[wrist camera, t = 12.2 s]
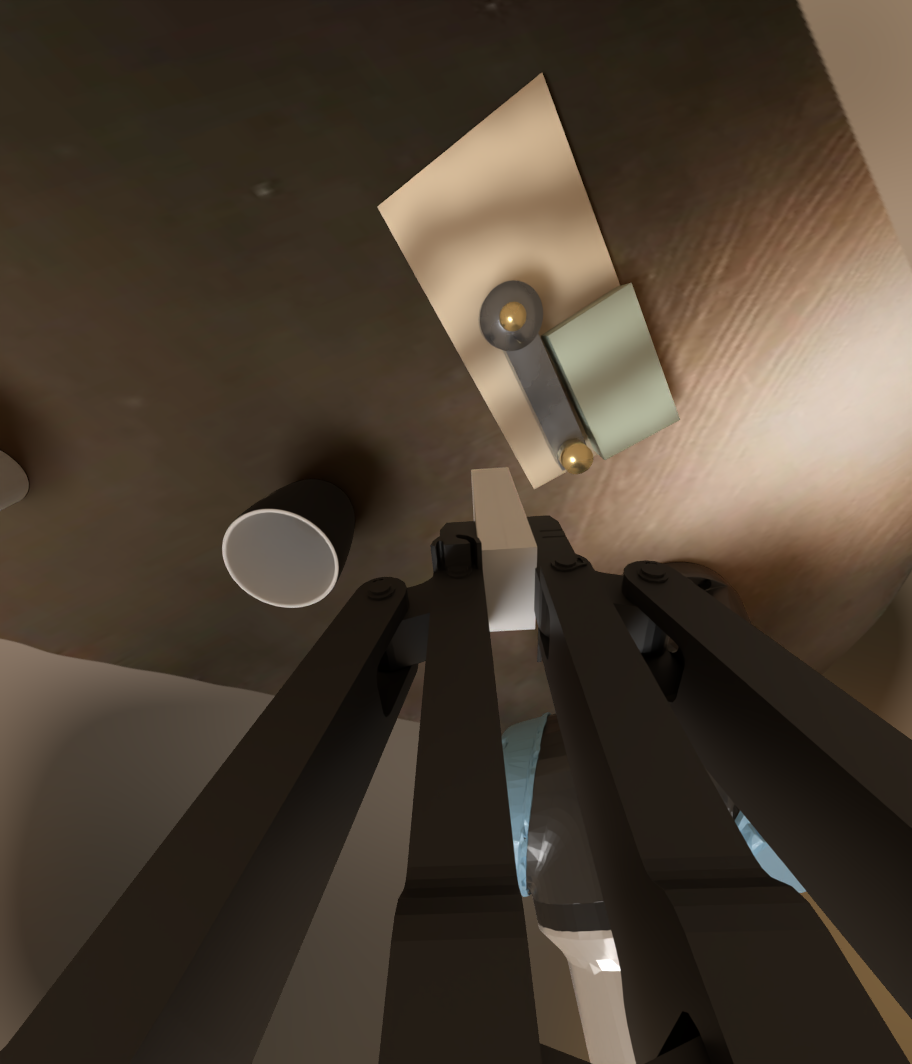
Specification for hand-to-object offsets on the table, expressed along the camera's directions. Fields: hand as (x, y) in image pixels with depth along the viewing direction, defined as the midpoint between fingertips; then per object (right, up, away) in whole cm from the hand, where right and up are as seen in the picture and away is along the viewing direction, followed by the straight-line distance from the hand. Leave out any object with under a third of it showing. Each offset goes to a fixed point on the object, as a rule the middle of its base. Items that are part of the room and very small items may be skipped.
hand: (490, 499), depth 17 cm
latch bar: (+5, +11, +17) cm, 21 cm away
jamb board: (+5, +16, +16) cm, 23 cm away
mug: (-16, 0, +24) cm, 29 cm away
